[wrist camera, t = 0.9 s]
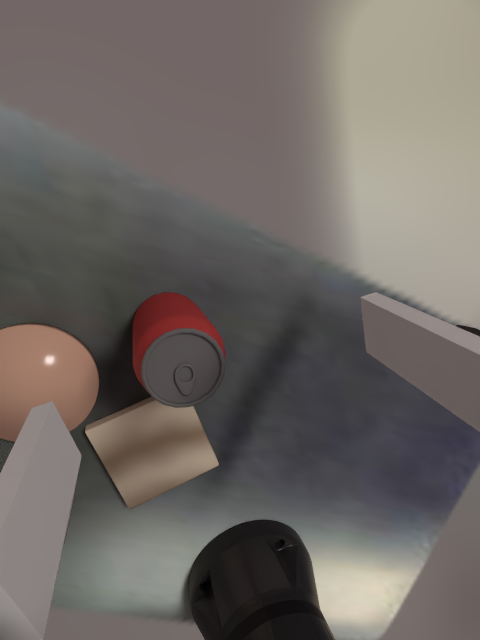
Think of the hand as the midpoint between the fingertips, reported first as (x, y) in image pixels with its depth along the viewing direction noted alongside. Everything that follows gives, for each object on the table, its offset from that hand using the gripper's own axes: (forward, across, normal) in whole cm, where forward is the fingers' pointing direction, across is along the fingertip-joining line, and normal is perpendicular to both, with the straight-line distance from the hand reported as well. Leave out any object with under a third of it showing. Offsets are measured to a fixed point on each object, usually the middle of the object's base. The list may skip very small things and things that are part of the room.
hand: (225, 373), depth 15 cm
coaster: (+20, +15, +6) cm, 25 cm away
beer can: (+21, +2, +5) cm, 21 cm away
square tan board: (+19, +7, +16) cm, 26 cm away
